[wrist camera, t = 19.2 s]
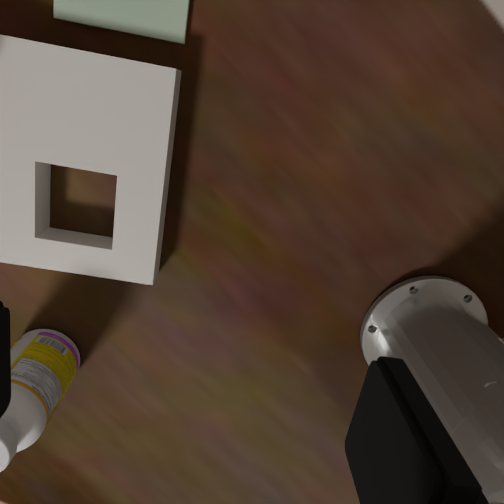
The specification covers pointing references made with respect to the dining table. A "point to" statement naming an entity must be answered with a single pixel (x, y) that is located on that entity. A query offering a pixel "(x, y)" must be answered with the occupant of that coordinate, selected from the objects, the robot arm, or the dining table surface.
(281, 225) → the dining table surface
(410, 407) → the robot arm
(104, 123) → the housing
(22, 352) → the supplement bottle
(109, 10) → the mat
